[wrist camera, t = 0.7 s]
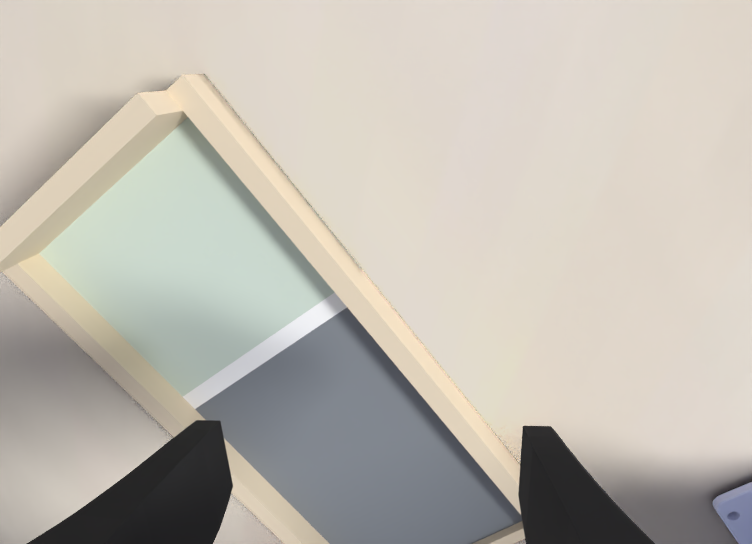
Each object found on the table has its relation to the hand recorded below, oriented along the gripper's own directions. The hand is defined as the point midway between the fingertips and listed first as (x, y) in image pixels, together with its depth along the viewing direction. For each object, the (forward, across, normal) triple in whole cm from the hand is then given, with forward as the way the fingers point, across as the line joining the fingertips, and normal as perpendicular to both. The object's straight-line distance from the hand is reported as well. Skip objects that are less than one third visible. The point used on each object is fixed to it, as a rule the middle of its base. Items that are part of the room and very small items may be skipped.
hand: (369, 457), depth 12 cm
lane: (+9, +4, +4) cm, 11 cm away
